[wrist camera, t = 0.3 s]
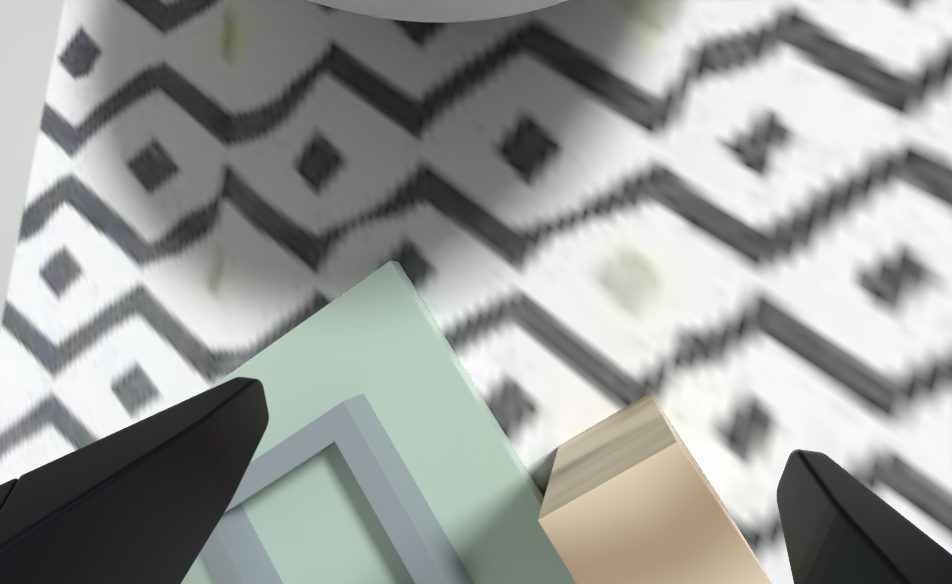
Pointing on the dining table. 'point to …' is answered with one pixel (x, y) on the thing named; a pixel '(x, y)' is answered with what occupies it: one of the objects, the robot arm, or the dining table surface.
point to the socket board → (377, 461)
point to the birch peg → (641, 508)
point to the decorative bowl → (438, 8)
